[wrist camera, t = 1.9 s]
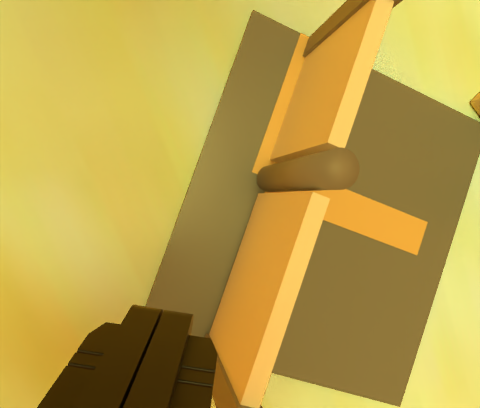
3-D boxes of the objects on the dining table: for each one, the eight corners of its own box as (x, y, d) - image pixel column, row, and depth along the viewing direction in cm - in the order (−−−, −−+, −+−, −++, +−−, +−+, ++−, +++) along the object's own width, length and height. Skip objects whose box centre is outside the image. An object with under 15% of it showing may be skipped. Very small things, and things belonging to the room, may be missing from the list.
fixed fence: (305, 37, 35) (395, -55, 22) (328, 48, 36) (428, -35, 23) (252, 186, 34) (315, 181, 21) (276, 195, 35) (351, 195, 22)
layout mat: (251, 12, 34) (253, 9, 34) (484, 127, 40) (488, 126, 40) (135, 334, 33) (135, 336, 32) (397, 404, 39) (400, 407, 38)
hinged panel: (255, 192, 34) (313, 189, 22) (273, 199, 34) (340, 200, 22) (198, 353, 33) (227, 443, 21) (218, 358, 34) (257, 449, 22)
